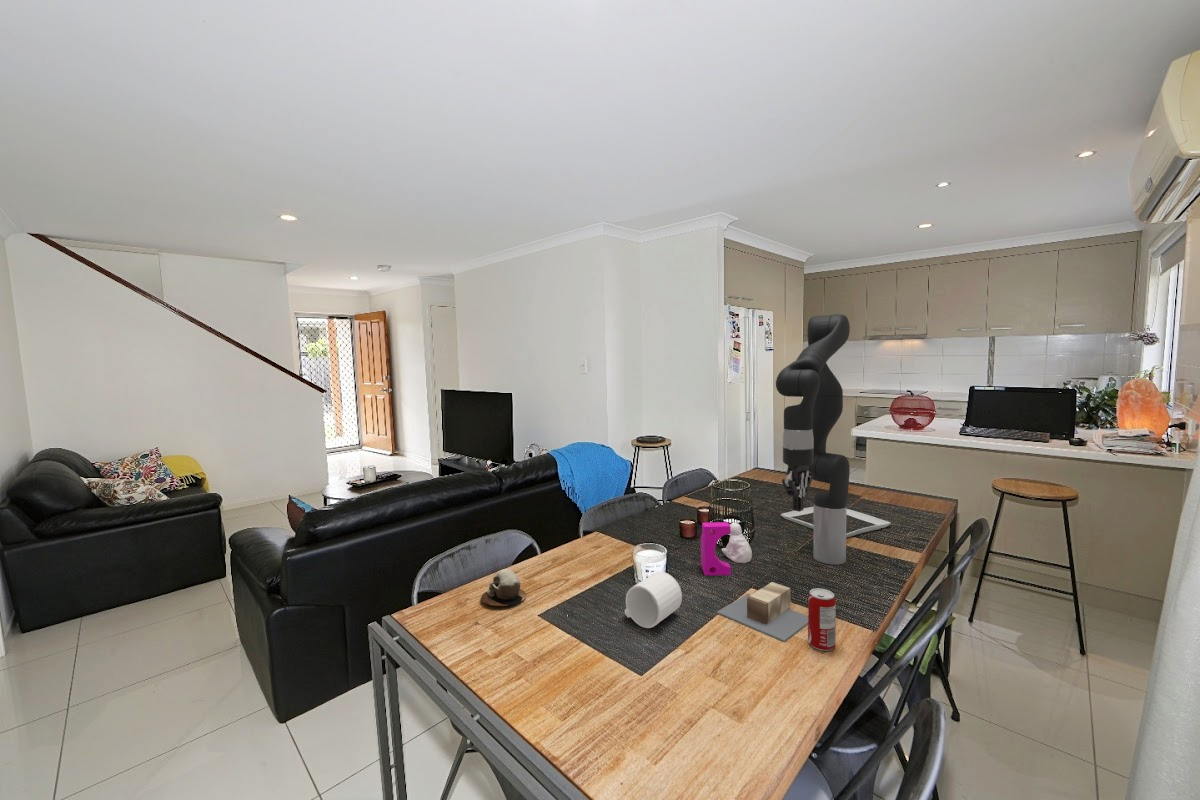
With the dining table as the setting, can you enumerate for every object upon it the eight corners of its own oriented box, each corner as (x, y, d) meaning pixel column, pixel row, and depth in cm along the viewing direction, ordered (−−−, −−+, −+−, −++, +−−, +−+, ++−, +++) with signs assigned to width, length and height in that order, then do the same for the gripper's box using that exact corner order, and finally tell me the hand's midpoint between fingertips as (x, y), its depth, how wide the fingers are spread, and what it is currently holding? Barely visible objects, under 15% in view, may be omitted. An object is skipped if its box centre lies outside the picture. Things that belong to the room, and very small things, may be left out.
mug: (669, 565, 125) (645, 579, 117) (689, 603, 122) (667, 620, 114) (636, 582, 132) (612, 597, 125) (655, 619, 129) (631, 636, 122)
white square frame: (779, 522, 193) (779, 513, 193) (829, 512, 205) (829, 502, 204) (839, 545, 169) (839, 534, 168) (892, 531, 180) (892, 521, 180)
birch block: (772, 581, 129) (747, 597, 121) (790, 587, 126) (765, 604, 118) (772, 600, 130) (747, 617, 122) (790, 607, 126) (765, 624, 118)
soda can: (812, 635, 114) (812, 584, 113) (838, 643, 110) (838, 590, 109) (804, 646, 109) (804, 593, 108) (831, 655, 106) (831, 600, 105)
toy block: (701, 568, 152) (725, 567, 152) (705, 577, 146) (730, 576, 146) (700, 520, 151) (725, 519, 151) (704, 526, 145) (730, 526, 144)
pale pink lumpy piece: (745, 567, 151) (745, 529, 151) (720, 560, 158) (720, 523, 157) (755, 561, 156) (755, 524, 155) (731, 554, 162) (731, 518, 161)
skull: (468, 597, 134) (487, 561, 140) (493, 613, 140) (510, 579, 145) (496, 605, 126) (515, 568, 132) (521, 622, 132) (538, 586, 138)
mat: (747, 595, 134) (747, 593, 134) (813, 619, 120) (813, 618, 120) (716, 613, 125) (716, 611, 125) (784, 642, 111) (784, 640, 111)
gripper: (796, 441, 138) (796, 502, 139) (771, 447, 129) (772, 513, 131) (823, 443, 132) (823, 507, 134) (799, 451, 124) (799, 519, 125)
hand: (798, 510), depth 132 cm, fingers closed
